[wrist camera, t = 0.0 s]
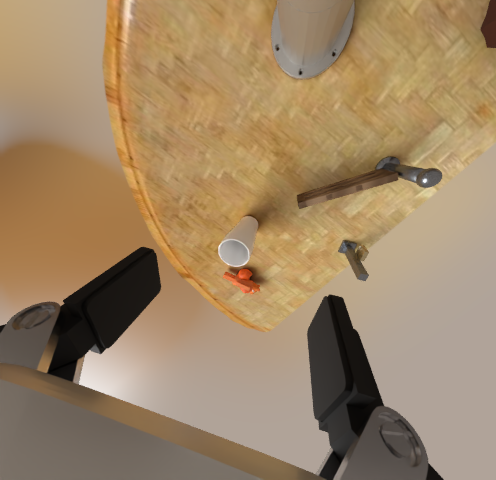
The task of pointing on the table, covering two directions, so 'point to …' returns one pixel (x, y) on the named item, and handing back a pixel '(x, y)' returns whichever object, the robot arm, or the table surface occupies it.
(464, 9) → the table surface
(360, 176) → the gate
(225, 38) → the table surface
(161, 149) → the table surface
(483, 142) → the table surface
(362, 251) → the post
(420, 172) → the hinge post
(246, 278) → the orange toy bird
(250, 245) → the drinking glass
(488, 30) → the muffin
